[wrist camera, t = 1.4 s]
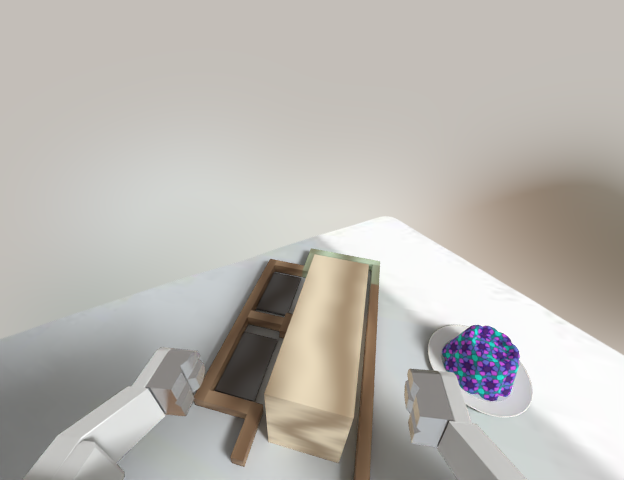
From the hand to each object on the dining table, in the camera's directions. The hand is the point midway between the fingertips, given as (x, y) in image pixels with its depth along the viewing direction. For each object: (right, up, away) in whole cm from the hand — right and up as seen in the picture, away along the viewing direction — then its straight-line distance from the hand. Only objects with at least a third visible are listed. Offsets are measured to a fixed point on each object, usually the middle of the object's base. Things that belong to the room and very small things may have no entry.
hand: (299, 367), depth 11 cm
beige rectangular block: (+2, -11, +23) cm, 26 cm away
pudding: (+21, -11, +25) cm, 35 cm away
